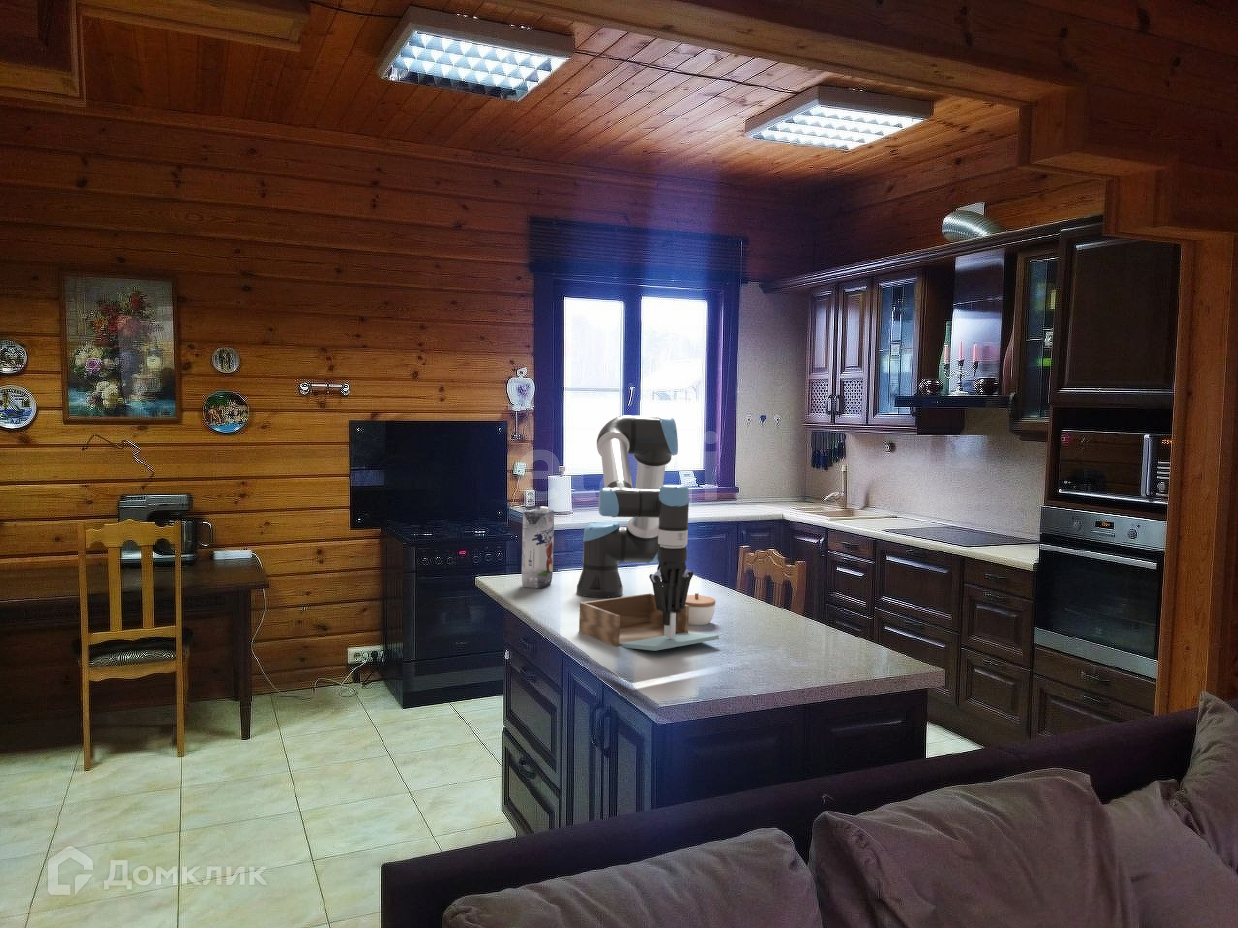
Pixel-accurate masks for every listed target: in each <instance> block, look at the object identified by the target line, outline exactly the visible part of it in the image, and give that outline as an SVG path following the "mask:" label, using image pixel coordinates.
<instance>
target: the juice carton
mask: <svg viewBox="0 0 1238 928" xmlns="http://www.w3.org/2000/svg"><path fill="white" fill-rule="evenodd" d="M522 513H523V514H522V535H521V536H522V538H521V540H522V542H521V584H522V587H524V588H533V589H544V588H545V587H547V586H549V585H550V584H551V583H552V581H553V580H552V579H553V573H554V572H553V571H554V542H555V541H554V540H555V539H554V538H555V537H554V536H555V534H554V533H555V516H554V515H555V510H554V509H550V508H549V507H548V506H539V508H532V509H530V510H524V511H523V512H522Z"/></svg>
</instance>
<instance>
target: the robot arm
mask: <svg viewBox="0 0 1238 928" xmlns="http://www.w3.org/2000/svg"><path fill="white" fill-rule="evenodd" d="M678 442H679V439H678V431H677V423H676V421H675V419H674V418H673V417H672V416H663V415H659V416H657V415H653V416H652V415H631V414H630V415H629V414H624V415H620V416H616V417H615V418H613V419H611V420H609V421H608V422H607V423H606V424H604V426H603V427H602V428H601V429H600V430H599V433H598V435H597V438H596V450H597V452H598V454H599V455H600V457H601V465H602V475H603V483H604V484H603V485H604V487H602V488H600V489H599V493H598V513H599V515H600V516H602V517H611V518H630V519H629V520H628V521H627V524H626V526H621V524H620V522H618V521H611V520H610V521H601V522H595V523H591V524H588V525H586V527H585V528H584V530H583V538H582V542H583V547H582V548H583V549H582V550H583V552H582V571H581V574H580V577H579V578H578V581H577V582H578V583H577V585H576V594H577V595H579V596H583V597H588V598H599V599H600V598H601V599H602V598H604V599H605V598H606V599H610V598H618V597H621V596H622V595H623V592H624V588H623V584H622V580H621V575H620V573H619V563H645V564H649V563H658V566H657V567H656V568H657V569H656V571H655V572H654V573H650V574H649V575H648V577H649V580H650V581H651V584H652V590H653V595H654V596H655V603H656V608H657V610H660V611H662V612H663V625H664V637H667V638H670V639H673V638H675V630H676V624H677V622H678V613H680V612H681V610H680V609H684V607H685V603H686V598H687V595H688V592H689V589H690V588H689V587H690V583H691V581H692V578H693V576H694V571H690V570H689V569H687V564H686V562H687V560H688V548H687V545H688V534H689V508H690V506H689V505H690V499H691V498H690V490H689V489H690V488H689V487H688V486H687V485H682V484H664V481H665V473H666V466H667V465H668V464H670V463H671V460H672V457H673V456H677V455H678V453H679V443H678ZM630 454H631V455H633V457H634V460H635V461H636V462H637V467H636V468H637V469H636V470H637V471H636V480H635V481H636V482H635V488H633V481H632V475H631V474H632V473H631V468H630V462H629V455H630ZM680 603H681V604H680Z"/></svg>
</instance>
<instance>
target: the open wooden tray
mask: <svg viewBox="0 0 1238 928" xmlns="http://www.w3.org/2000/svg"><path fill="white" fill-rule="evenodd" d="M680 604H681V603H680ZM680 610H681V612H680V613H678V622H677V624H676V630H675V634H678V633H689V624H688V621H689V605H685V607H684V609H680ZM578 622H579V625H578V631H579V632H580V633H582V634H584V635H587V636H590V637H591V638H594V639H597V640H600V641H601V642H604V643H606V644H608V645H610V646H611V645H612V646H614V647H620V645H619V644H620V643H625V642H631V641H637V640H643V639H649V638H655V637H661V636H664V625H663V612H662V611H660V610H657V608H656V603H655V596H654V593H643V594H636V595H628V596H618V597H611V598H606V599H605V598H604V599H598V600H597V599H596V600H590V601H589V600H588V601H583V602H582V601H581V602H579V621H578Z"/></svg>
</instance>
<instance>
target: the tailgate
mask: <svg viewBox="0 0 1238 928" xmlns="http://www.w3.org/2000/svg"><path fill="white" fill-rule="evenodd" d="M716 640H720V638H719V635H718V634H707V633H693V632H688V633H678V634H675V638H673V639H670V638H667V637H664V636H661V637H655V638H649V639H643V640H637V641H631V642H625V643H620V644H619V647H620V646H621V647H623V648H625V649H626V648H627V649H635V650H644V651H660V650H665V649H666V650H667V649H672V648H677V647H684V646H688V645H694V644H699V643H705V642H712V641H716Z"/></svg>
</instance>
